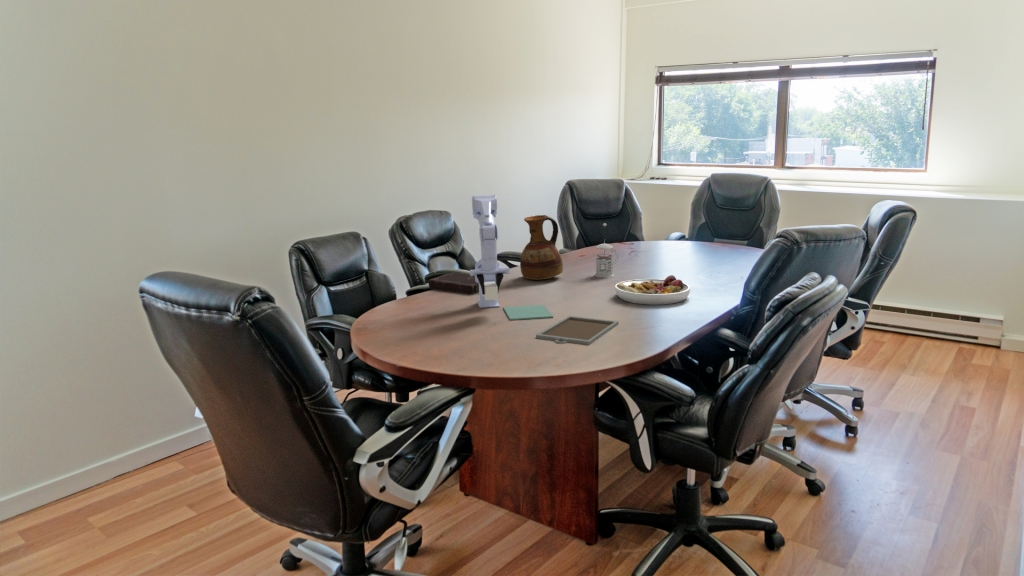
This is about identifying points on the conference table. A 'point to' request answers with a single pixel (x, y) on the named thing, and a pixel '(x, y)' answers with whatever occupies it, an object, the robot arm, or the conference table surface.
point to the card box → (490, 291)
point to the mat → (527, 312)
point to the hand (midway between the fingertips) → (490, 293)
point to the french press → (604, 261)
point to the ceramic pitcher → (540, 251)
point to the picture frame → (577, 330)
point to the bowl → (653, 291)
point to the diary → (455, 283)
